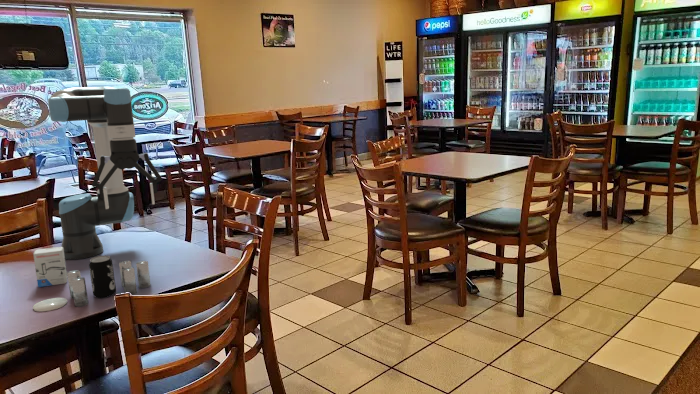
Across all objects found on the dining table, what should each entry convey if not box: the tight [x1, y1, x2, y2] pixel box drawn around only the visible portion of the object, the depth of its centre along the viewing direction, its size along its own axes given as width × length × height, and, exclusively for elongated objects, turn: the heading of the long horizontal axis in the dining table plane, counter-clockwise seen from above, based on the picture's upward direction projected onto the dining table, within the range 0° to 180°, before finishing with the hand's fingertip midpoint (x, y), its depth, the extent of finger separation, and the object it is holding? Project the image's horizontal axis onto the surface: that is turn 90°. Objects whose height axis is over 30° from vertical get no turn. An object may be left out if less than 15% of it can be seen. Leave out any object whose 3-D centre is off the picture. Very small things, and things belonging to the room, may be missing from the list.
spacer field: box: [67, 260, 151, 308], centre depth 163 cm, size 12×23×8 cm, turn 123°
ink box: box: [33, 246, 68, 288], centre depth 173 cm, size 9×5×12 cm, turn 114°
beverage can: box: [88, 255, 117, 299], centre depth 162 cm, size 7×7×12 cm
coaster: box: [32, 297, 68, 313], centre depth 156 cm, size 9×9×1 cm
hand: (130, 206), depth 164 cm, fingers open, 13 cm apart
